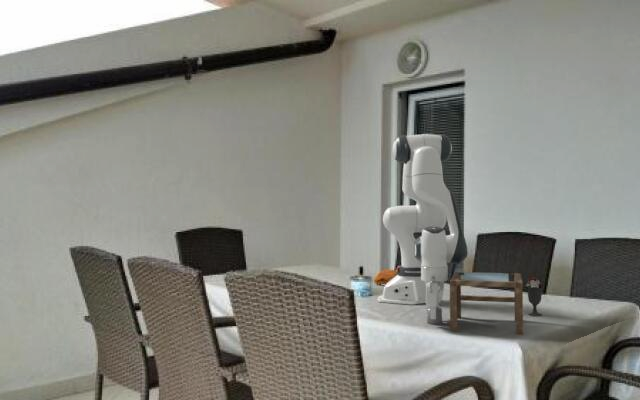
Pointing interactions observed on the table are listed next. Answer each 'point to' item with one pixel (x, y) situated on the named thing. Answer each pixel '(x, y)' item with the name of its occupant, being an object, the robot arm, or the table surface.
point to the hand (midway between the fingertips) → (434, 316)
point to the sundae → (534, 294)
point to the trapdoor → (486, 276)
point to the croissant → (385, 276)
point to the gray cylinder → (438, 317)
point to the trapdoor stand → (485, 297)
